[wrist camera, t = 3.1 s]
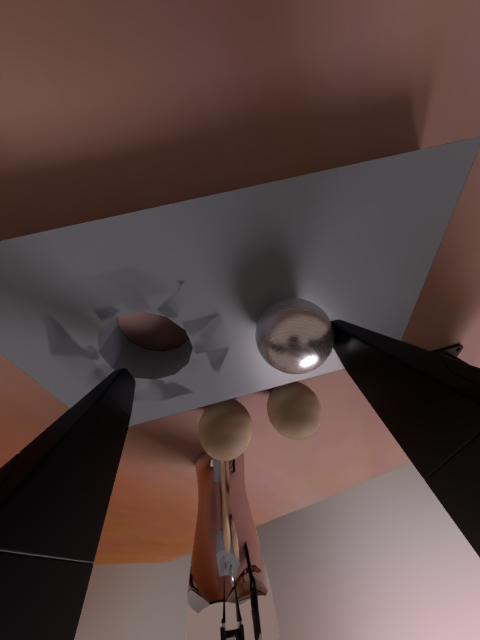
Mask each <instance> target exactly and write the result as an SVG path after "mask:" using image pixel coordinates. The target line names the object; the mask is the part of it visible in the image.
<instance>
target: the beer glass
mask: <svg viewBox="0 0 480 640" xmlns="http://www.w3.org/2000/svg"><path fill="white" fill-rule="evenodd" d="M195 467H196V475H197V483H198V514H197V522H196V530H195V537H194V545H193V552H192V560H191V567H190V575H189V585H188V595H187V606H186V623H185V640H280V638H279V631H278V626H277V619H276V613H275V607H274V601H273V596H272V591H271V586H270V581H269V576H268V573H267V568H266V564H265V560H264V556H263V552H262V549H261V545H260V542H259V538H258V535H257V531H256V528H255V524H254V521H253V517H252V514H251V510H250V506H249V503H248V498H247V493H246V487H245V476H244V454H243V453H242V454H241V455H240V456H238V457H237V458H235V459H232V460H229V461H220V460H216V459H214V458H212V457H211V456H209V455H208V454H207V453H206V452H205V453H203V454H202V455H200V456H199V457H198V458H197V460H196V463H195Z"/></svg>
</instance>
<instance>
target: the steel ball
mask: <svg viewBox="0 0 480 640" xmlns="http://www.w3.org/2000/svg"><path fill="white" fill-rule="evenodd" d="M255 337H256V344H257V348H258V350H259V352H260V354H261V356H262V357H263V358H264V360H265V361H266V362H267V363H268V364H269V365H271V366H272V367H273V368H275V369H277V370H279V371H281V372H284V373H288V374H303V373H307V372H310V371H313V370H315V369H316V368H318V367H319V366H321V365H322V364H323V363H324V362H325V361H326V360H327V358H328V357H329V355H330V353H331V351H332V348H333V345H334V330H333V326H332V323H331V321H330V319H329V317H328V316H327V314H326V313H325V312H324V311H323V310H322V309H321V308H320V307H319V306H317V305H316V304H314V303H312V302H310V301H307V300H304V299H299V298H288V299H283V300H280V301H278V302H276V303H274V304H272V305H271V306H269V307H268V308H267V309H266V310H265V311H264V312H263V314H262V315H261V317H260V318H259V321H258V323H257V326H256V333H255Z"/></svg>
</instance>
